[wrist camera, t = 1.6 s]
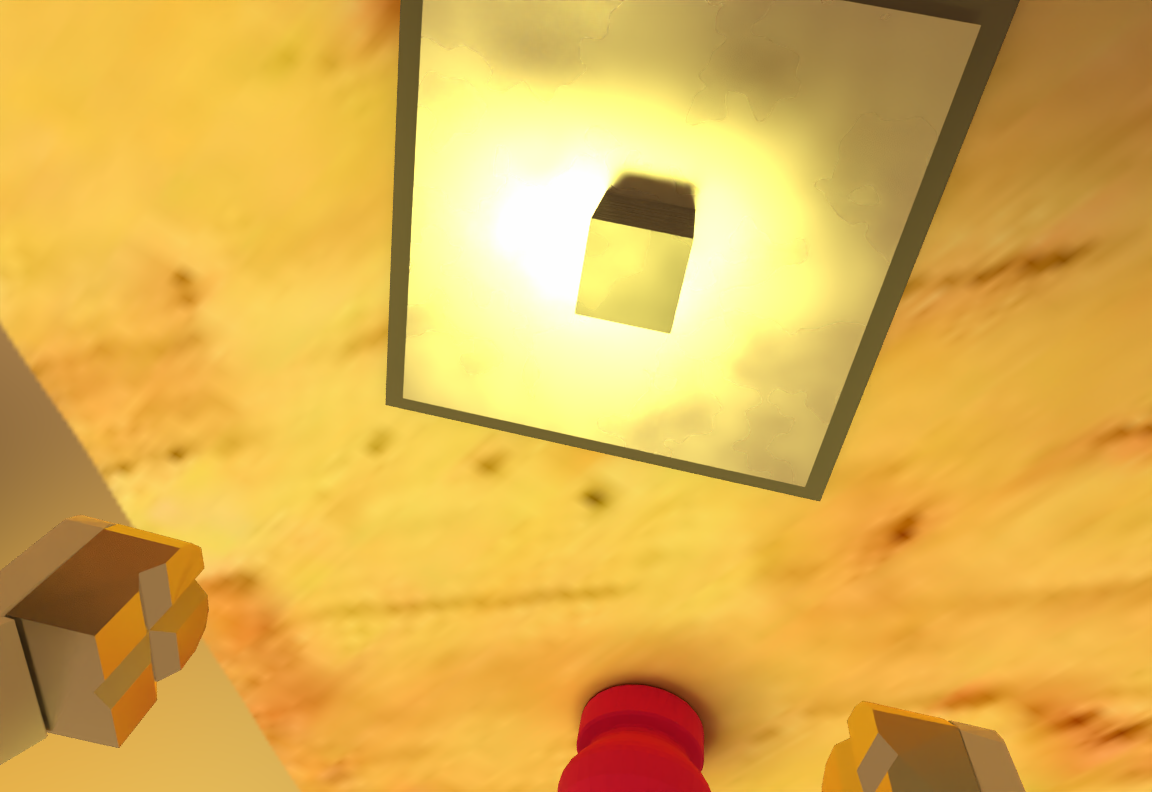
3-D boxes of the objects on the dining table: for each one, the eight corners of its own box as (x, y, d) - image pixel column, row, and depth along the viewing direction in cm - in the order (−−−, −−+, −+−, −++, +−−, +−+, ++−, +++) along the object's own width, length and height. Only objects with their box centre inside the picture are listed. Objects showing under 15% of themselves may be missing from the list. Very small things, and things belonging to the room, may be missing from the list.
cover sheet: (972, 24, 21) (1028, 28, 18) (802, 475, 29) (816, 545, 25) (435, -72, 22) (380, -88, 19) (410, 389, 30) (367, 443, 26)
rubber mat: (1016, -9, 21) (1023, -9, 21) (818, 494, 30) (819, 501, 29) (411, -115, 22) (405, -117, 22) (390, 399, 31) (385, 404, 31)
